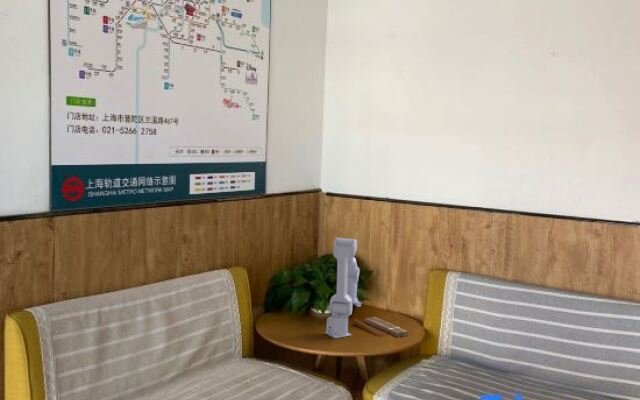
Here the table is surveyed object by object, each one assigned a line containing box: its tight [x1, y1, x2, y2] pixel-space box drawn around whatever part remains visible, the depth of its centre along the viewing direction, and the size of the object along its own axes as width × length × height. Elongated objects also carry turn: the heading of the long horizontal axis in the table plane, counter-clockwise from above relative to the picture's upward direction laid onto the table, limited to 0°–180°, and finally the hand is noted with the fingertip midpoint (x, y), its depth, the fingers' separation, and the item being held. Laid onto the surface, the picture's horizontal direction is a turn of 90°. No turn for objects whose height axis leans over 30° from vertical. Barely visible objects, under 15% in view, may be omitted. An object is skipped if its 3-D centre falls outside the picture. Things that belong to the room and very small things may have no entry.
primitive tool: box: [352, 318, 387, 338], centre depth 271 cm, size 19×6×4 cm, turn 43°
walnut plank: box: [364, 316, 409, 338], centre depth 275 cm, size 6×24×2 cm, turn 34°
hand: (349, 317), depth 284 cm, fingers closed
